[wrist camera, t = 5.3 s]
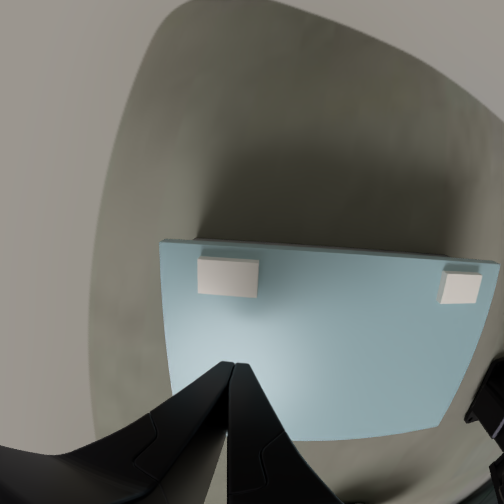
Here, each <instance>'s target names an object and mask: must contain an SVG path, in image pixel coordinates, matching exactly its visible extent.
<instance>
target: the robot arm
mask: <svg viewBox="0 0 504 504" xmlns="http://www.w3.org/2000/svg"><path fill="white" fill-rule="evenodd" d="M477 420H479V421H480V423H481V424H482V426H483V427H484V429H485V430H486V432H487V433H488V434H489V436H490V437H491V439H494V440H495V441H496V443H497V444H498V446H499V447H500V449H501V450H502V452H504V358H500V359H496V360H494V361H493V363H492V364H491V366H490V368H489V370H488V373H487V375H486V377H485V379H484V382H483V384H482V386H481V388H480V390H479V392H478V394H477V396H476V398H475V400H474V402H473V404H472V406H471V407H470V409H469V411H468V413H467V415H466V416H465V418H464V421H465V422H466V423H471V422H474V421H477ZM226 434H227V504H344V503H343V502H342V501H341V500H340V499H339V498H338V497H337V496H336V495H335V494H334V493H333V492H332V491H331V490H330V489H329V487H328V486H327V485H326V484H325V483H324V482H323V481H322V480H321V479H320V477H319V476H318V475H317V474H316V473H315V472H314V471H313V469H312V468H311V467H310V466H309V465H308V463H307V462H306V461H305V460H304V458H303V457H302V456H301V455H300V453H299V452H298V450H297V449H296V447H295V445H294V444H293V442H292V441H291V439H290V437H289V436H288V434H287V432H285V429H284V427H283V425H282V424H281V422H280V420H279V418H278V416H277V415H276V413H275V411H274V409H273V407H272V406H271V404H270V402H269V400H268V398H267V396H266V394H265V393H264V391H263V389H262V387H261V385H260V383H259V381H258V379H257V378H256V376H255V374H254V372H253V370H252V368H251V366H250V364H248V363H238V362H237V363H234V362H228V361H220V362H219V363H218V364H216V365H215V366H214V367H212V368H211V369H210V370H208V371H207V372H205V373H204V374H203V375H201V376H200V377H199V378H197V379H196V380H195V381H193V382H192V383H190V384H189V385H188V386H186V387H185V388H183V389H182V390H181V391H179V392H178V393H176V394H175V395H173V396H172V397H171V398H169V399H168V400H166V401H165V402H163V403H162V404H160V405H159V406H158V407H156V408H155V409H153V410H152V411H150V413H147V414H145V415H144V416H142V417H141V418H139V419H138V420H136V421H134V422H133V423H131V424H129V425H128V426H126V427H124V428H122V429H120V430H119V431H117V432H115V433H113V434H111V435H109V436H106V437H104V438H102V439H100V440H98V441H95V442H93V443H91V444H88V445H86V446H84V447H81V448H79V449H77V450H74V451H72V452H69V453H65V454H61V455H44V454H38V453H32V452H26V451H22V450H17V449H13V448H9V447H5V446H1V445H0V504H204V501H205V498H206V495H207V492H208V489H209V486H210V483H211V480H212V477H213V474H214V471H215V468H216V465H217V462H218V459H219V456H220V453H221V450H222V447H223V444H224V441H225V438H226ZM489 469H490V473H491V478H492V481H493V485H494V488H495V492H496V496H497V500H498V504H504V453H503V454H502V455H501V456H500V457H499V458H498V459H497V460H496V461H494V462H493V463H492V464H491V465H490V466H489Z"/></svg>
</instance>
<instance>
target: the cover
mask: <svg viewBox="0 0 504 504" xmlns="http://www.w3.org/2000/svg"><path fill="white" fill-rule="evenodd" d="M159 248H160V273H161V291H162V305H163V318H164V329H165V339H166V348H167V357H168V365H169V373H170V380H171V387H172V394H173V395H175V394H176V393H178V392H179V391H181V390H182V389H183V388H185V387H186V386H188V385H189V384H190V383H192V382H193V381H195V380H196V379H197V378H199V377H200V376H201V375H203V374H204V373H205V372H207V371H208V370H210V369H211V368H212V367H214V366H215V365H216V364H218V363H219V362H220V361H228V362H234V363H237V362H238V363H248V364H250V366H251V368H252V370H253V372H254V374H255V376H256V378H257V379H258V381H259V383H260V385H261V387H262V389H263V391H264V393H265V394H266V396H267V398H268V400H269V402H270V404H271V406H272V407H273V409H274V411H275V413H276V415H277V416H278V418H279V420H280V422H281V424H282V425H283V427H284V429H285V432H287V434H288V436H289V437H290V439H291V441H324V440H345V439H358V438H369V437H378V436H386V435H393V434H399V433H405V432H411V431H417V430H422V429H427V428H431V427H436V426H438V425H439V423H440V421H441V420H442V418H443V416H444V414H445V413H446V411H447V409H448V407H449V405H450V403H451V401H452V399H453V398H454V396H455V394H456V392H457V390H458V388H459V385H460V383H461V381H462V379H463V377H464V375H465V373H466V370H467V368H468V366H469V363H470V361H471V359H472V356H473V354H474V351H475V349H476V346H477V343H478V341H479V338H480V335H481V333H482V330H483V327H484V324H485V321H486V318H487V314H488V311H489V308H490V305H491V301H492V298H493V294H494V290H495V286H496V282H497V278H498V274H499V269H500V264H498V263H496V262H494V261H489V260H477V259H464V258H451V257H438V256H425V255H411V254H398V253H384V252H370V251H355V250H341V249H326V248H311V247H296V246H280V245H264V244H248V243H231V242H214V241H197V240H180V239H164V240H162V241H160V242H159ZM226 436H227V434H226Z"/></svg>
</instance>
